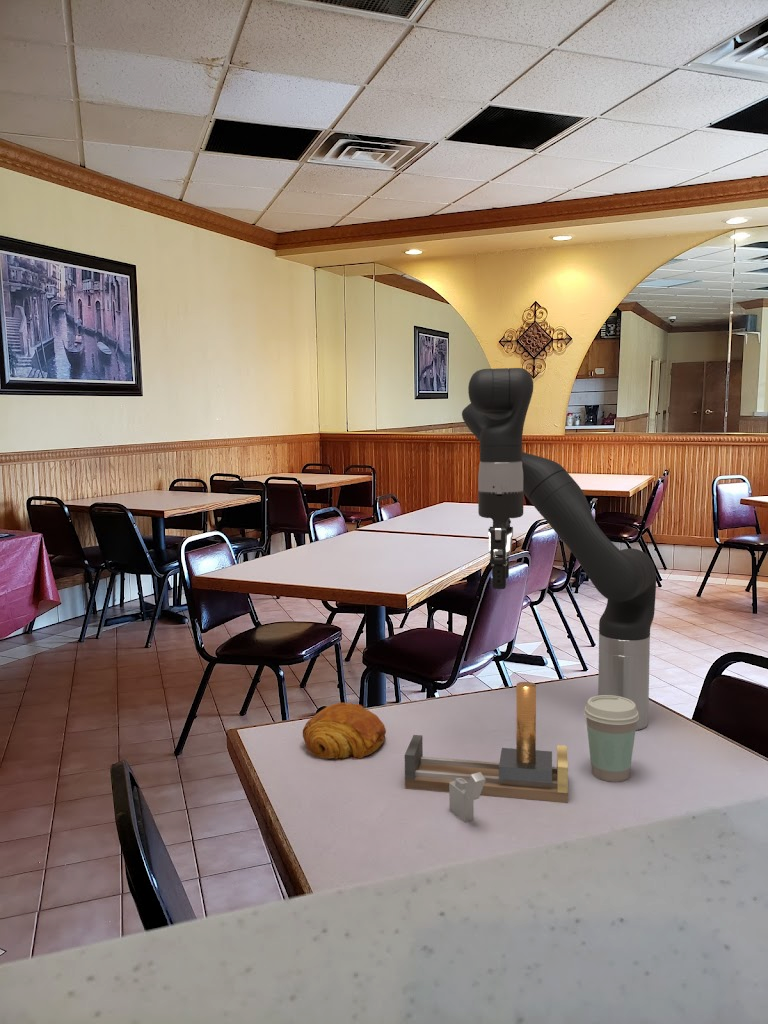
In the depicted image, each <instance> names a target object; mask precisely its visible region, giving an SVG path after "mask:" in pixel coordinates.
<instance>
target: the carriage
mask: <svg viewBox="0 0 768 1024" xmlns="http://www.w3.org/2000/svg"><path fill="white" fill-rule="evenodd" d="M515 686H516V699H515V700H516V703H515V704H516V709H515V711H516V713H515V714H516V719H515V720H516V721H515V722H516V723H515V724H516V726H515V727H516V730H515V731H516V733H515V735H516V739H515V740H516V742H515V743H516V744H515V745H516V747H515V748H511V747H508V748H507V747H501V750H500V757H499V762H498V763H499V779H505V780H517V781H529V782H542V783H552V767H553V751H550V750H539V749H538V750H537V746H536V745H537V743H536V742H537V684H535V682H530V681H520V682H517V683H516V685H515Z"/></svg>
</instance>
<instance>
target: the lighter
mask: <svg viewBox="0 0 768 1024" xmlns="http://www.w3.org/2000/svg"><path fill="white" fill-rule="evenodd" d="M485 780H486V779H485V778H484V776H483V775H482V773H481V772H478V773H474V774H472V775H471V776H470V779H469V782H467V781H465V780H464V779H463V778H456V779H455V781H452V782H450V783H449V792H448V793H449V794H448V795H449V800H448V801H449V811H450V812H451V813H452V814H453V815H455V816H456V818H458V819H459V820H461V821H462V822H463V823H467V822H470V821H473V820H475V817H474V816H475V815H474V813H475V812H474V811H475V810H474V807H475V805H474V804H475V802H474V801H475V800H478V799H480V797H481V795H480V794H481V791H482V789H483V786H484V783H485Z"/></svg>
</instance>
